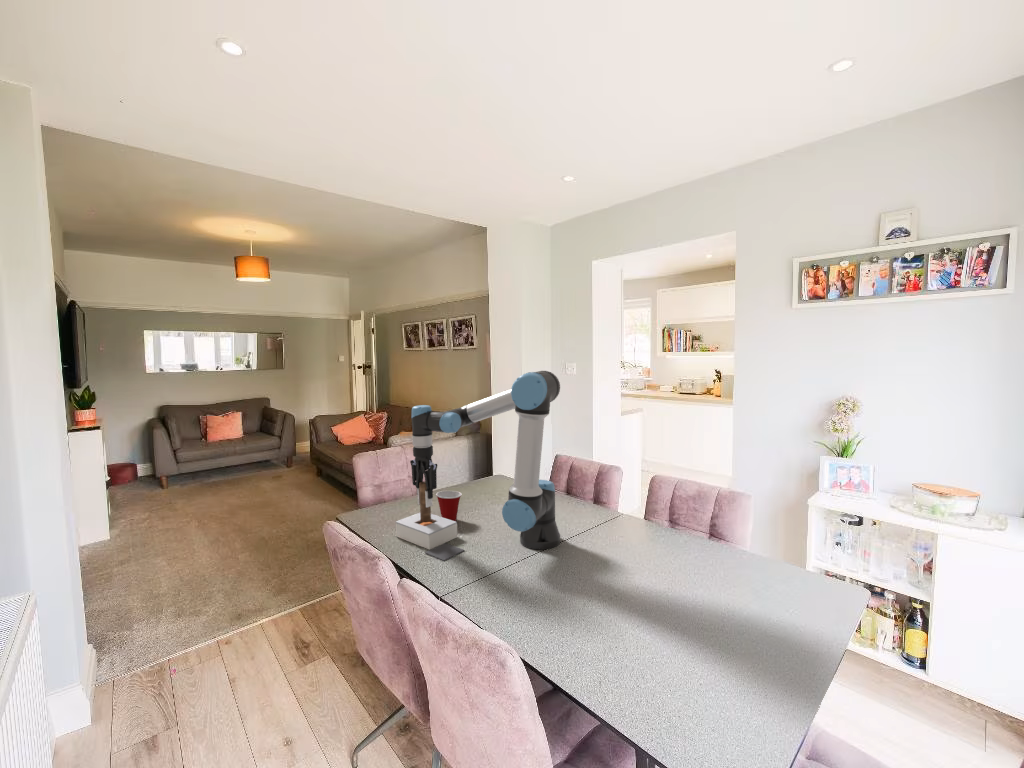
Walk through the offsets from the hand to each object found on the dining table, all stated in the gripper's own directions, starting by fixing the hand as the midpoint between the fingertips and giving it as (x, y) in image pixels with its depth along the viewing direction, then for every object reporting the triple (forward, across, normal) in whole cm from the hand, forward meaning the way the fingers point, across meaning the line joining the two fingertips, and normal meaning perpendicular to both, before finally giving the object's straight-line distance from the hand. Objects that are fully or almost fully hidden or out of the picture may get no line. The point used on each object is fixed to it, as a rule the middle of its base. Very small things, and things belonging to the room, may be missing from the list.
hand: (425, 505), depth 182 cm
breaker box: (+13, 0, 0) cm, 13 cm away
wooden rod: (+6, 0, 0) cm, 6 cm away
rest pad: (+13, -16, +5) cm, 21 cm away
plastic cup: (+13, +5, -17) cm, 22 cm away
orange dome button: (+10, 0, 0) cm, 10 cm away
